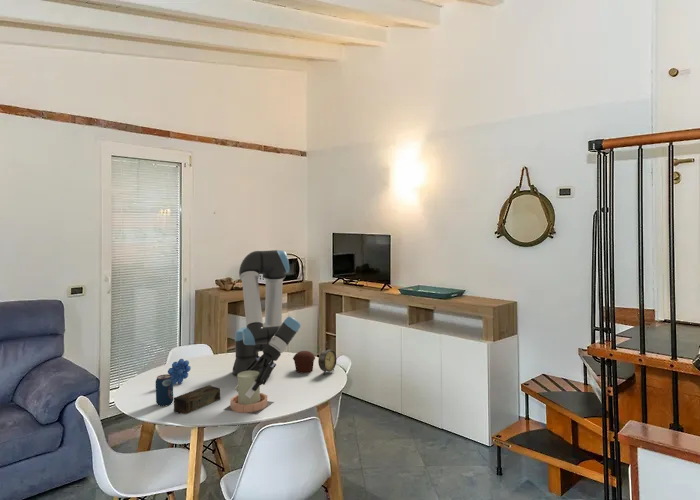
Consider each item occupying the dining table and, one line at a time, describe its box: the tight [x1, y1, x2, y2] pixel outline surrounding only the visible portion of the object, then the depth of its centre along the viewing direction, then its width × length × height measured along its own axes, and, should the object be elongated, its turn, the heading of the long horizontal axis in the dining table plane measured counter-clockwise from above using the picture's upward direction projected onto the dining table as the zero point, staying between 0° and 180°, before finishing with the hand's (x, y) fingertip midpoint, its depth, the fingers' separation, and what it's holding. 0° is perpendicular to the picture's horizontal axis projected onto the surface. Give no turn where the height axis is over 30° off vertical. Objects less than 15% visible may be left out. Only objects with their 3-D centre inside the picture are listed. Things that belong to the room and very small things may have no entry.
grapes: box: [167, 358, 192, 386], centre depth 229 cm, size 12×7×12 cm, turn 134°
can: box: [236, 371, 261, 405], centre depth 197 cm, size 9×9×12 cm
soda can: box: [155, 373, 174, 407], centre depth 202 cm, size 7×7×12 cm
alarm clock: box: [317, 341, 337, 376], centre depth 242 cm, size 11×5×16 cm, turn 148°
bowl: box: [229, 392, 268, 414], centre depth 197 cm, size 15×15×3 cm
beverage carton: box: [173, 384, 221, 415], centre depth 199 cm, size 8×19×7 cm, turn 149°
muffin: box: [292, 350, 316, 374], centre depth 246 cm, size 12×11×10 cm
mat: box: [223, 400, 275, 415], centre depth 197 cm, size 16×14×1 cm
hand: (241, 393), depth 195 cm, fingers closed on can, 9 cm apart
